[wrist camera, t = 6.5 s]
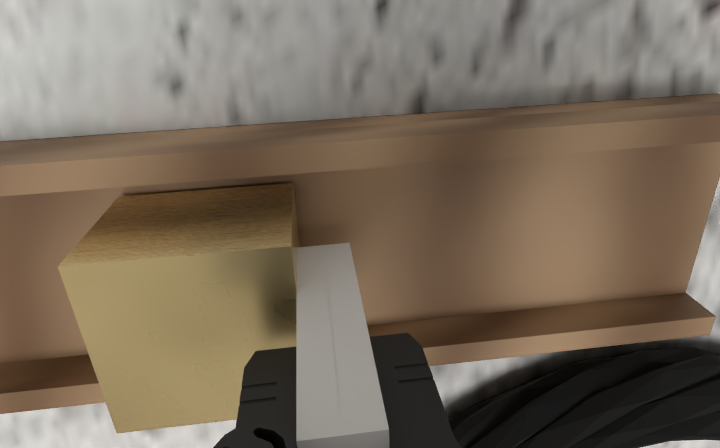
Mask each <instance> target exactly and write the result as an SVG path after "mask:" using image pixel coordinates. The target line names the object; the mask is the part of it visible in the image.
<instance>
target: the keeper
mask: <svg viewBox="0 0 720 448" xmlns="http://www.w3.org/2000/svg"><path fill="white" fill-rule="evenodd" d="M297 247H300V244H299V234H298V225H297V215H296V206H295V196H294V187H293V183H288V184H275V185H262V186H249V187H236V188H223V189H210V190H197V191H184V192H171V193H159V194H146V195H133V196H120V197H118V198H117V199H116V200H115V201H114V203H113V204H112V205H111V206H110V207H109V208H108V209H107V211H106V212H105V213H104V214H103V215H102V216H101V217H100V219H99V220H98V221H97V222H96V223H95V224H94V225H93V227H92V228H91V229H90V230H89V231H88V232H87V233H86V235H85V236H84V237H83V238H82V239H81V240H80V242H79V243H78V244H77V245H76V246H75V247H74V248H73V250H72V251H71V252H70V253H69V254H68V255H67V256H66V258H65V259H64V260H63V261H62V262H61V263H60V264H59V266H58V269H59V272H60V275H61V278H62V281H63V284H64V286H65V289H66V292H67V295H68V298H69V300H70V303H71V306H72V309H73V312H74V314H75V317H76V320H77V323H78V326H79V328H80V331H81V334H82V337H83V340H84V343H85V345H86V348H87V351H88V354H89V357H90V359H91V362H92V365H93V368H94V371H95V373H96V376H97V379H98V382H99V385H100V387H101V390H102V393H103V396H104V399H105V402H106V404H107V407H108V410H109V413H110V416H111V418H112V421H113V424H114V427H115V430H116V432H117V433H124V432H132V431H141V430H150V429H158V428H167V427H175V426H184V425H192V424H201V423H209V422H218V421H227V420H235V419H237V415H238V408H239V405H240V402H239V401H240V394H241V390H242V379H243V372H244V367H245V366H246V364H247V363H248V361H249V360H250V358H251V357H252V355H253V354H254V353H255V351H260V350H269V349H278V348H287V347H296V293H297Z"/></svg>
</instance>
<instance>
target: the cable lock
mask: <svg viewBox="0 0 720 448" xmlns="http://www.w3.org/2000/svg"><path fill="white" fill-rule="evenodd" d="M448 421H449V424H450V427H451V430H452V432H453V435H454V437H455V438H456V440H457V442H458V443H459V445H460V446H461V447H462V448H640V447H644V446H649V445H654V444H658V443H663V442H667V441H680V440H720V356H719V355H716V354H713V353H709V352H706V351H703V350H699V349H696V348H682V349H658V350H639V351H636V352H634V353H631V354H628V355H626V356H623V357H603V358H596V359H590V360H585V361H580V362H575V363H572V364H570V365H568V366H566V367H563V368H561V369H559V370H556V371H554V372H552V373H550V374H547V375H545V376H543V377H541V378H538V379H536V380H534V381H531V382H529V383H525V384H523V385H520V386H518V387H515V388H513V389H510V390H508V391H505V392H503V393H501V394H499V395H497V396H494V397H492V398H490V399H488V400H486V401H483V402H481V403H479V404H477V405H475V406H473V407H470V408H468V409H466V410H464V411H462V412H460V413H457V414H456V415H455V416H453V417H452V418H451V419H449V420H448Z"/></svg>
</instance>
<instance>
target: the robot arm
mask: <svg viewBox="0 0 720 448" xmlns="http://www.w3.org/2000/svg"><path fill="white" fill-rule="evenodd" d="M239 402H240V405H239V408H238V415H237V422H236V428H235V429H234V430H232V431H230V432H229V433H227V434H226V435H224V436H223V437H222V439H221V440H220V441H219V442H218V443H217V444H216V445H215V446H214V447H213V448H462V447H461V446H460V445H459V443H458V442H457V440H456V438H455V437H454V435H453V432H452V430H451V427H450V424H449V421H448V418H447V415H446V413H445V410H444V407H443V404H442V401H441V398H440V396H439V393H438V390H437V387H436V384H435V381H434V380H433V376H432V373H431V370H430V367H429V366H428V362H427V359H426V356H425V353H424V350H423V348H422V346H421V345H420V344H419V343H418V342H417V341H416V340H415V339H414V338H413V337H412V336H411V335H410V334H409V333H400V334H391V335H382V336H373V337H369V332H368V328H367V323H366V318H365V314H364V309H363V304H362V299H361V295H360V290H359V285H358V280H357V276H356V271H355V266H354V261H353V257H352V252H351V247H350V243H340V244H329V245H319V246H308V247H297V293H296V347H287V348H278V349H269V350H260V351H255V353H254V354H253V355H252V357H251V358H250V360H249V361H248V363H247V364H246V366H245V367H244V372H243V379H242V390H241V394H240V401H239Z"/></svg>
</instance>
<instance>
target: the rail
mask: <svg viewBox="0 0 720 448" xmlns="http://www.w3.org/2000/svg"><path fill="white" fill-rule="evenodd" d="M719 177H720V94H705V95H691V96H676V97H661V98H646V99H631V100H616V101H601V102H586V103H571V104H556V105H541V106H526V107H511V108H497V109H482V110H467V111H452V112H437V113H422V114H407V115H392V116H377V117H362V118H347V119H332V120H317V121H302V122H288V123H273V124H258V125H243V126H228V127H213V128H198V129H183V130H168V131H153V132H138V133H123V134H108V135H94V136H79V137H64V138H49V139H34V140H19V141H4V142H0V414H4V413H13V412H22V411H31V410H40V409H49V408H58V407H67V406H76V405H85V404H94V403H103V402H105V399H104V396H103V393H102V390H101V387H100V385H99V382H98V379H97V376H96V373H95V371H94V368H93V365H92V362H91V359H90V357H89V354H88V351H87V348H86V345H85V343H84V340H83V337H82V334H81V331H80V328H79V326H78V323H77V320H76V317H75V314H74V312H73V309H72V306H71V303H70V300H69V298H68V295H67V292H66V289H65V286H64V284H63V281H62V278H61V275H60V272H59V269H58V266H59V264H60V263H61V262H62V261H63V260H64V259H65V258H66V256H67V255H68V254H69V253H70V252H71V251H72V250H73V248H74V247H75V246H76V245H77V244H78V243H79V242H80V240H81V239H82V238H83V237H84V236H85V235H86V233H87V232H88V231H89V230H90V229H91V228H92V227H93V225H94V224H95V223H96V222H97V221H98V220H99V219H100V217H101V216H102V215H103V214H104V213H105V212H106V211H107V209H108V208H109V207H110V206H111V205H112V204H113V203H114V201H115V200H116V199H117V198H118V197H120V196H133V195H146V194H159V193H171V192H184V191H197V190H210V189H223V188H236V187H249V186H262V185H275V184H288V183H293V187H294V196H295V206H296V215H297V225H298V234H299V244H300V247H308V246H319V245H329V244H340V243H350V247H351V252H352V257H353V261H354V266H355V271H356V276H357V280H358V285H359V290H360V295H361V299H362V304H363V309H364V314H365V318H366V323H367V328H368V332H369V337H373V336H382V335H391V334H400V333H409V334H410V335H411V336H412V337H413V338H414V339H415V340H416V341H417V342H418V343H419V344H420V345H421V346H422V348H423V350H424V353H425V356H426V359H427V362H428V366H435V365H444V364H453V363H462V362H471V361H480V360H489V359H498V358H506V357H515V356H524V355H533V354H542V353H551V352H560V351H569V350H578V349H587V348H596V347H605V346H614V345H623V344H632V343H641V342H650V341H659V340H668V339H677V338H686V337H695V336H704V335H710V332H711V329H712V326H713V323H714V320H715V317H716V316H715V315H713V314H712V313H711V312H709V311H708V310H707V309H706V308H704V307H703V306H702V305H701V304H699V303H698V302H697V301H695V300H694V299H693V298H692V297H690V296H689V295H688V294H686V289H687V286H688V282H689V279H690V276H691V272H692V269H693V265H694V262H695V259H696V255H697V252H698V248H699V245H700V242H701V238H702V235H703V231H704V228H705V225H706V221H707V218H708V214H709V211H710V208H711V204H712V201H713V197H714V194H715V191H716V187H717V184H718V180H719Z"/></svg>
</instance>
